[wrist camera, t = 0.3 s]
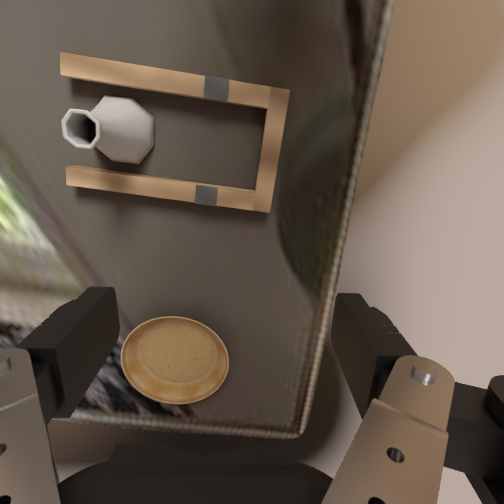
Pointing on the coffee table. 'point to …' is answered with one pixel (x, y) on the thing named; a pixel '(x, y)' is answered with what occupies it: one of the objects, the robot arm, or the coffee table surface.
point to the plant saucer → (174, 360)
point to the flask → (112, 129)
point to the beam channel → (195, 88)
